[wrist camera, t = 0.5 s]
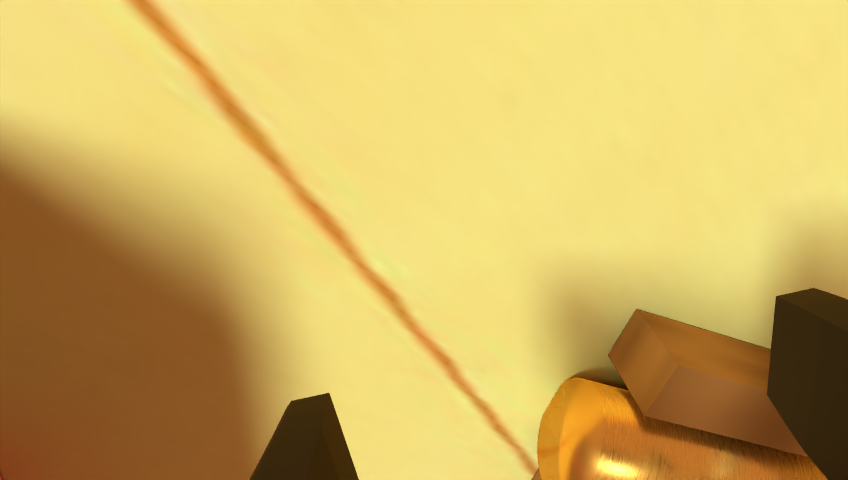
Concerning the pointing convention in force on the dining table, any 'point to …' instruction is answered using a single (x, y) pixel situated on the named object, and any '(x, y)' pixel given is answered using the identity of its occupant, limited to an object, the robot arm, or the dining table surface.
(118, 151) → the dining table surface
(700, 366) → the parallel wooden rails
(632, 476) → the axle
